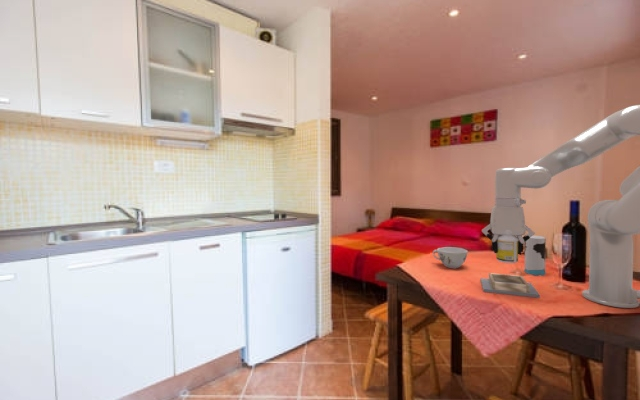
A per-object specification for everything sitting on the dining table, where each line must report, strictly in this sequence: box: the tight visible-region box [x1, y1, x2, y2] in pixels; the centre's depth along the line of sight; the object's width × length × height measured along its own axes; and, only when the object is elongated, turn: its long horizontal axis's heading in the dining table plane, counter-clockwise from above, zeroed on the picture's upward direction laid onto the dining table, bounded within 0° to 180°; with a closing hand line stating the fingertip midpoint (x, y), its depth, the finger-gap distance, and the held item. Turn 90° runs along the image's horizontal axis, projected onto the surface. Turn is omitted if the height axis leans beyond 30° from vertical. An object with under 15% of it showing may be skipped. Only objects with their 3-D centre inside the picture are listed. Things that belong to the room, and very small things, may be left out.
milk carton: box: [524, 235, 547, 276], centre depth 117 cm, size 7×7×15 cm
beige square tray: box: [488, 272, 529, 293], centre depth 102 cm, size 11×11×2 cm
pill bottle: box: [495, 230, 519, 264], centre depth 101 cm, size 6×6×12 cm
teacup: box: [432, 246, 468, 269], centre depth 130 cm, size 15×12×8 cm
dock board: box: [479, 277, 541, 299], centre depth 102 cm, size 16×12×1 cm
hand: (507, 252), depth 101 cm, fingers closed on pill bottle, 6 cm apart
